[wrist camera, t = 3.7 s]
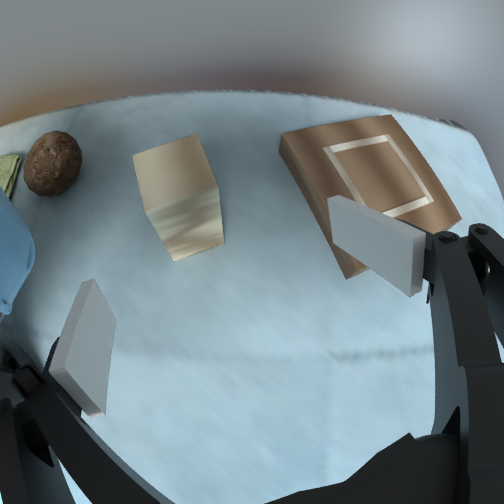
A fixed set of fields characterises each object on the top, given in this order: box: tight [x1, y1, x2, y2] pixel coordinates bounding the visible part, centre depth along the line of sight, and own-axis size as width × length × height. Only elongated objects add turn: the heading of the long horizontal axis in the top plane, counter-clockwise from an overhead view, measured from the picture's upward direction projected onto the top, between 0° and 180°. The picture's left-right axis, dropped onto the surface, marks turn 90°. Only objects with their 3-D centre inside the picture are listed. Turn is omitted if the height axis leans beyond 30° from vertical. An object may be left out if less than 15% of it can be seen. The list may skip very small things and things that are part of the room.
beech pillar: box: [132, 134, 224, 262], centre depth 24 cm, size 5×5×10 cm
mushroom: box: [24, 131, 82, 197], centre depth 28 cm, size 8×8×6 cm
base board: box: [279, 115, 462, 279], centre depth 29 cm, size 16×16×3 cm
